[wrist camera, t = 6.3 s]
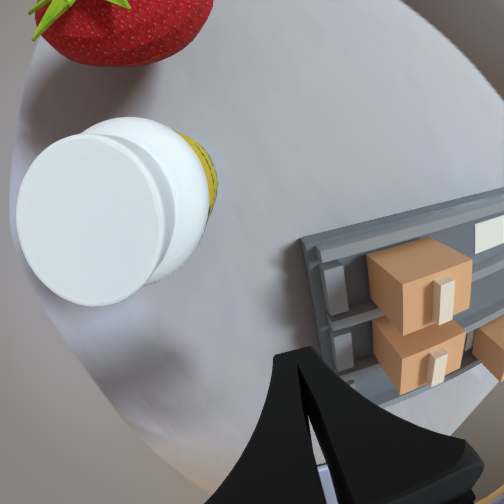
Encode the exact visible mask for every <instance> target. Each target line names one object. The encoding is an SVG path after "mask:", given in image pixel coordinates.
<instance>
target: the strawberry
mask: <svg viewBox="0 0 504 504" xmlns="http://www.w3.org/2000/svg"><path fill="white" fill-rule="evenodd" d="M212 7H213V0H38V2H37V4H36V5H35V6H34V7H33V8H32V9H31V10H30V11H29V12H28V14H29V15H31V14H32V13H34V12H35V20H36V25H37V29H36V31H35V33H34V35H33V38H32V41H35V40H36V39H37V38H38V37H39V36H40V35H41V36H42V37H43V38H44V39H45V40H46V41H47V42H48V43H49V44H50V45H51V46H52V47H53V48H54V49H56V50H57V51H58V52H59V53H60V54H62V55H63V56H65V57H66V58H68V59H70V60H72V61H75V62H78V63H81V64H85V65H92V66H99V67H133V66H141V65H147V64H150V63H154V62H158V61H161V60H163V59H165V58H168V57H170V56H172V55H174V54H176V53H177V52H179V51H180V50H182V49H184V48H185V47H186V46H187V45H188V44H189V43H190V42H192V41H193V39H194V38H195V37H196V35H197V34H198V33H199V31H200V30H201V28H202V27H203V25H204V23H205V22H206V20H207V19H208V16H209V14H210V12H211V9H212Z"/></svg>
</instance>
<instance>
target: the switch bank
mask: <svg viewBox="0 0 504 504" xmlns="http://www.w3.org/2000/svg"><path fill="white" fill-rule="evenodd" d="M424 237H430V238H432V239H434V240H436V241H438V242H440V243H442V244H444V245H446V246H448V247H450V248H452V249H454V250H456V251H458V252H460V253H462V254H464V255H465V256H467V257H469V258H471V259H473V260H472V281H471V295H470V305H469V309H466V310H464V311H462V312H460V313H458V314H455V315H453V318H452V319H453V320H454V321H455V322H456V323H458V324H459V325H460V326H461V327H462V328H463V329H464V330H465V331H466V337H465V343H464V349H463V355H462V360H461V365H460V368H459V369H457V370H455V371H453V372H451V373H449V374H447V375H445V376H444V381H443V382H442V383H444V382H446V381H448V380H450V379H452V378H454V377H456V376H458V375H460V374H462V373H464V372H466V371H467V370H469V369H471V368H473V367H475V366H477V365H478V364H480V363H481V362H480V361H479V360H478V359H477V358H476V357H475V356H474V355H473V354H472V351H473V346H474V340H475V334H476V329H477V328H479V327H481V326H483V325H484V324H486V323H488V322H490V321H492V320H494V319H496V318H497V317H499V316H501V315H503V314H504V188H500V189H496V190H491V191H487V192H483V193H479V194H475V195H471V196H467V197H463V198H459V199H455V200H451V201H447V202H443V203H439V204H435V205H431V206H427V207H423V208H419V209H415V210H410V211H406V212H402V213H398V214H394V215H390V216H386V217H382V218H378V219H374V220H370V221H366V222H362V223H358V224H354V225H350V226H346V227H342V228H338V229H334V230H330V231H326V232H322V233H318V234H314V235H310V236H306V237H302V238H300V240H301V244H302V249H303V254H304V259H305V265H306V270H307V275H308V280H309V286H310V291H311V296H312V302H313V308H314V313H315V319H316V325H317V331H318V337H319V343H320V349H321V355H322V359H323V360H324V362H325V363H326V364H327V365H328V366H329V367H330V368H331V369H332V370H333V371H334V372H335V373H336V374H337V375H338V376H340V377H341V378H342V379H343V380H344V381H345V382H346V383H347V384H349V385H350V386H351V387H352V388H354V389H355V390H356V391H357V392H359V393H360V394H361V395H363V396H364V397H366V398H367V399H368V400H370V401H371V402H373V403H375V404H376V405H378V406H379V407H381V408H386V407H388V406H391V405H393V404H396V403H399V402H401V401H403V400H406V399H408V398H411V397H413V396H415V395H418V394H420V393H422V392H425V391H427V390H429V389H431V388H433V387H436V386H438V385H440V384H442V383H440V384H438V385H435V386H433V387H430V385H429V384H426V385H423V386H421V387H419V388H416V389H414V390H412V391H409V392H407V393H405V394H402V395H399V393H398V392H397V390H396V389H395V387H394V385H393V384H392V382H391V381H390V379H389V377H388V376H387V374H386V373H385V371H384V369H383V368H382V366H381V365H380V363H379V362H378V360H377V358H376V357H375V355H374V354H373V331H372V319H375V318H378V317H381V316H384V315H385V314H384V313H383V312H382V311H381V310H380V308H379V307H378V306H377V305H376V304H375V303H374V302H373V300H372V299H371V298H370V288H369V277H368V268H367V259H366V254H368V253H372V252H376V251H379V250H383V249H386V248H390V247H393V246H397V245H400V244H404V243H407V242H411V241H414V240H418V239H421V238H424Z"/></svg>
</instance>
